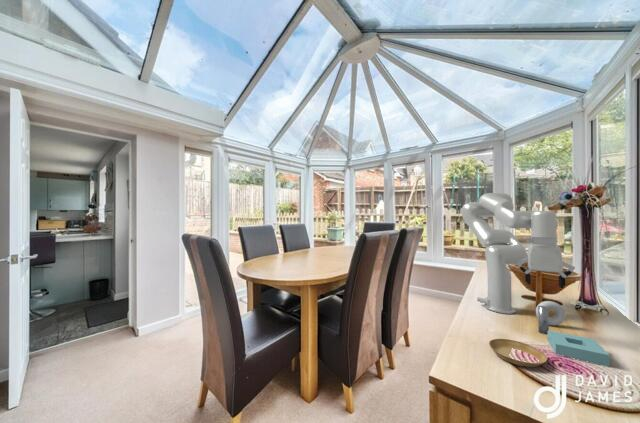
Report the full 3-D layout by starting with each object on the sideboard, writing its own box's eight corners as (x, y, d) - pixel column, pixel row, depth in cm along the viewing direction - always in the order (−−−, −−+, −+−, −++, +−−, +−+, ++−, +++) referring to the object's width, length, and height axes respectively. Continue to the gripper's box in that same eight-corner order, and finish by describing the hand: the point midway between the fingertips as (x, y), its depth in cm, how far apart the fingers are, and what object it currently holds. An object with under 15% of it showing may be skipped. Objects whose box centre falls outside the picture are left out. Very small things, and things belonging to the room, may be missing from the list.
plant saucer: (553, 378, 70) (553, 368, 70) (490, 361, 77) (490, 353, 77) (541, 354, 82) (541, 346, 82) (487, 341, 90) (487, 334, 90)
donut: (563, 325, 104) (562, 301, 104) (568, 328, 101) (567, 304, 101) (534, 321, 107) (533, 298, 108) (538, 325, 104) (537, 301, 104)
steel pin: (539, 333, 97) (538, 307, 97) (537, 330, 99) (537, 305, 100) (549, 335, 95) (549, 308, 95) (547, 332, 98) (547, 306, 98)
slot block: (555, 354, 81) (555, 343, 81) (547, 339, 91) (547, 330, 91) (609, 367, 75) (609, 355, 75) (594, 349, 85) (594, 339, 85)
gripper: (517, 241, 100) (517, 284, 99) (577, 244, 90) (578, 291, 90) (514, 240, 106) (515, 280, 105) (570, 242, 97) (571, 286, 96)
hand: (544, 285), depth 98 cm, fingers open, 9 cm apart
